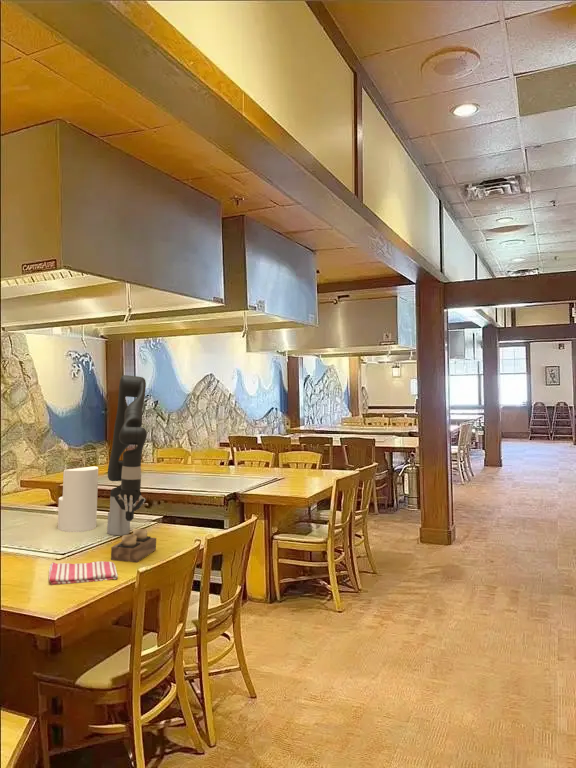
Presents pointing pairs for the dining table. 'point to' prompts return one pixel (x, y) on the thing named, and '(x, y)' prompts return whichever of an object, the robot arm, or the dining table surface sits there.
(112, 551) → the socket block
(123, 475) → the robot arm
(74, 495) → the cylinder
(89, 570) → the dish towel
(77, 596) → the dining table surface
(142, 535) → the peg
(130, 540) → the peg
